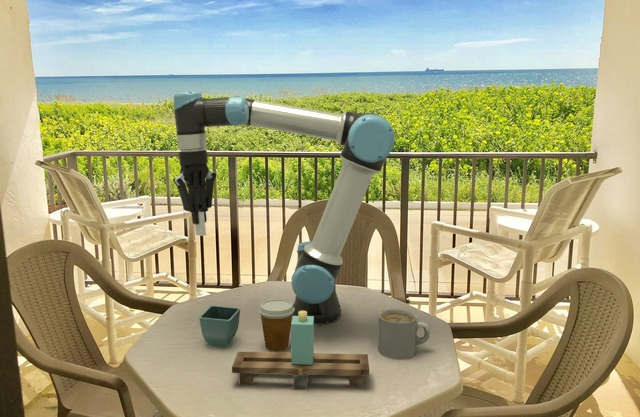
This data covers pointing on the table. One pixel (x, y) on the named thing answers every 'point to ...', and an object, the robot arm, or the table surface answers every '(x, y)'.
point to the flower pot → (219, 325)
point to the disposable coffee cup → (276, 323)
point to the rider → (302, 339)
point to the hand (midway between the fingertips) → (200, 234)
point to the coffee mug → (399, 333)
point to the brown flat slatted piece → (300, 366)
